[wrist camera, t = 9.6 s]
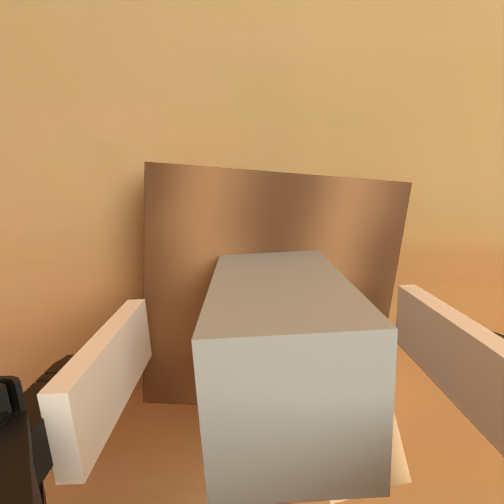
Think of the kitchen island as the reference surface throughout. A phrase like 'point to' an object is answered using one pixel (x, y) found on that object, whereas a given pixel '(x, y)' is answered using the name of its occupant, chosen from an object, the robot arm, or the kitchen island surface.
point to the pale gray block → (292, 383)
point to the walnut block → (252, 245)
